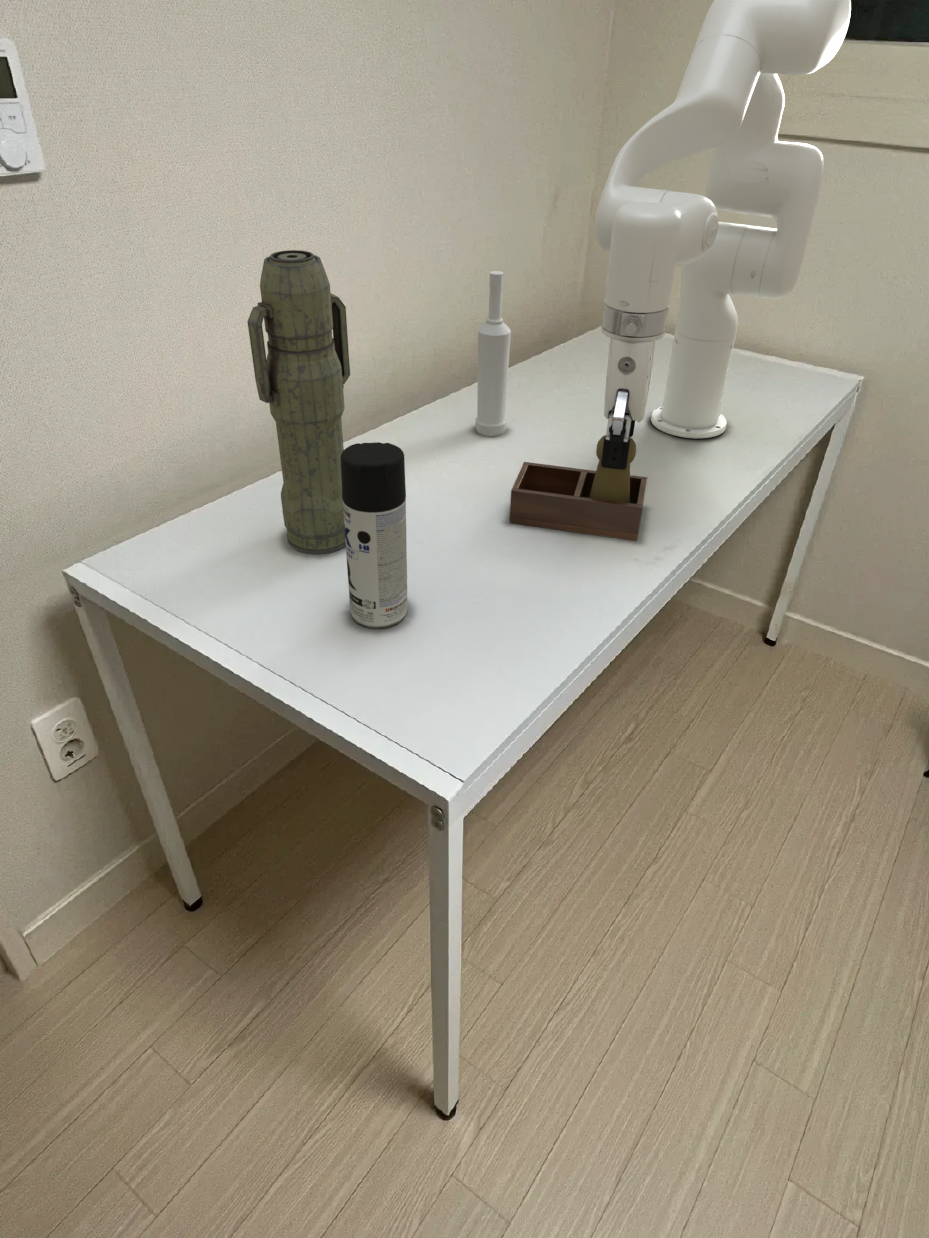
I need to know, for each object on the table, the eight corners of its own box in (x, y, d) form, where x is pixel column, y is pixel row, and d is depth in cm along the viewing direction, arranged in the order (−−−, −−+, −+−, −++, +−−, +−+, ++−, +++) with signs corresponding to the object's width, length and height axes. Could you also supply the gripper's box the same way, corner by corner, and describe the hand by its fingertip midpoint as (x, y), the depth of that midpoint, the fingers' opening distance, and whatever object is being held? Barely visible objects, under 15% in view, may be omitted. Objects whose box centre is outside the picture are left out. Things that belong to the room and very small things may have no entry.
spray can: (351, 596, 98) (339, 440, 86) (408, 594, 99) (404, 439, 87) (349, 630, 93) (336, 468, 81) (410, 628, 94) (405, 467, 82)
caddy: (521, 493, 120) (523, 461, 117) (642, 509, 117) (647, 477, 114) (509, 523, 113) (511, 490, 110) (637, 541, 110) (642, 507, 107)
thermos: (376, 531, 111) (361, 253, 90) (307, 566, 103) (273, 272, 83) (332, 509, 115) (308, 240, 94) (264, 541, 108) (221, 257, 87)
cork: (633, 505, 115) (644, 432, 109) (625, 526, 111) (637, 450, 104) (590, 498, 117) (599, 425, 110) (581, 518, 112) (590, 443, 106)
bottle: (503, 438, 136) (511, 278, 121) (472, 435, 136) (476, 276, 122) (508, 425, 140) (516, 269, 125) (478, 422, 140) (482, 267, 126)
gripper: (662, 347, 91) (640, 485, 101) (670, 300, 104) (650, 427, 115) (593, 341, 92) (580, 478, 103) (610, 295, 106) (596, 421, 116)
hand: (617, 451), depth 109 cm, fingers open, 9 cm apart
